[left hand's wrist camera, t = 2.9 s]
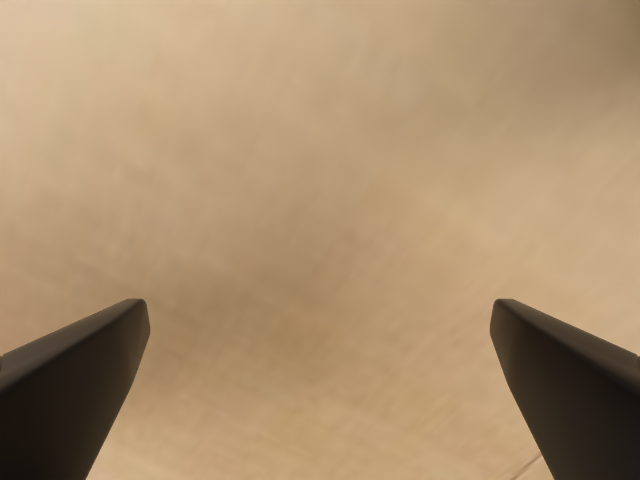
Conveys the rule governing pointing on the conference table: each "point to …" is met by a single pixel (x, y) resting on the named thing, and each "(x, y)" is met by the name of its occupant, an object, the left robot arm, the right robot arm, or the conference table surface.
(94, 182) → the conference table surface
